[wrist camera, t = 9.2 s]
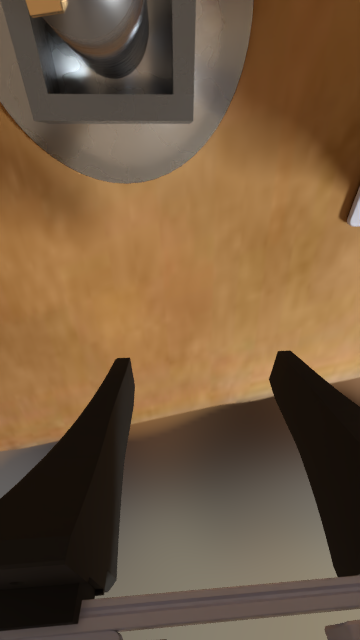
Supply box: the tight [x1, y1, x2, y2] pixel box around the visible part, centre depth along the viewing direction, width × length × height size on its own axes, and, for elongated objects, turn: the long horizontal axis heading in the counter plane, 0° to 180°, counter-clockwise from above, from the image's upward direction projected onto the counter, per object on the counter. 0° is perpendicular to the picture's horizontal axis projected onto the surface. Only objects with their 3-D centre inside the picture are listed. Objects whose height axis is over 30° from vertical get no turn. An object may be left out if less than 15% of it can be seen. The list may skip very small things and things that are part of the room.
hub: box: [0, 0, 254, 183], centre depth 11 cm, size 14×14×3 cm
